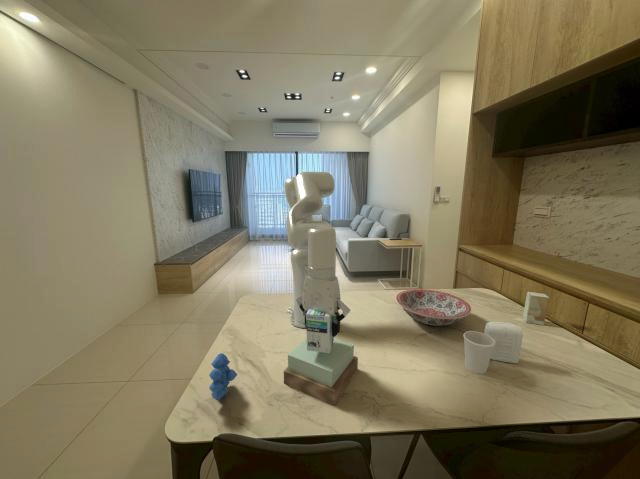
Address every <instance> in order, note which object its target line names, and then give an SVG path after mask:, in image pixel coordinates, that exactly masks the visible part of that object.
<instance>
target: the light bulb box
mask: <svg viewBox="0 0 640 479" xmlns="http://www.w3.org/2000/svg"><path fill="white" fill-rule="evenodd" d="M333 322H334V321H333V319H332V316H331V315H330V314H327V313H323V312H319V311H316V310H312V309H309V310H308V312H307V314H306V329H305V330H306V339H307V350H308V351H316V352H323V353H330V351H331V348H332V344H333V341H334V339H336V338H335V337H336V336H335V337H333V336H332V323H333Z"/></svg>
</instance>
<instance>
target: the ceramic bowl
mask: <svg viewBox="0 0 640 479" xmlns="http://www.w3.org/2000/svg"><path fill="white" fill-rule="evenodd" d="M395 301H396V303H397V304H398V305H399V306H400V307H401V308H402V309H403V311H404V312H405V313H406V314H407V315H408V316H409V317H410V318H412V319H413V320H416V321H417V322H419V323H421V324H425V325H430V326H437V327H439V326H440V327H441V326H443V327H444V326H449V325H452V324H455V323H457V322H458V321H460V320H462V319H463V318H465V317H467V316H469V315H470V314H471V312H472V307H471V305H470V304H469V302H467V301H466V300H465V299H462V298H461V297H458V296H457V295H454V294H451V293H447V292H443V291H439V290H435V289H433V290H432V289H424V288H418V289H417V288H416V289H415V288H414V289H407V290H402V291H401V292H399V293H397V295H396V297H395Z"/></svg>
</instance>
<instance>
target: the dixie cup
mask: <svg viewBox="0 0 640 479" xmlns="http://www.w3.org/2000/svg"><path fill="white" fill-rule="evenodd" d="M462 336H463V342H464V365H465V367H466V369H467V370H469V371H471V372H472V373H475V374H486V373H487V370H488V368H489V363H490V360H491V359H490V357H491V354H492V351H493V347H494V345H495V340H494V339H493V338H492V337H490V336H489V335H487V334H484V332H480V331H477V330H467V331H465V332H464V333H463V335H462Z"/></svg>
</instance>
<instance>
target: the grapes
mask: <svg viewBox="0 0 640 479" xmlns="http://www.w3.org/2000/svg"><path fill="white" fill-rule="evenodd" d="M230 363H231V361H230V360H229V358H228V357H227V356H226V354H225V353H222V352H221V353H218V354H217V356H216V357H215V358H214V359H213V361H212V363H211V366H212V367H213V370H212V371H210V373H209V375H208V376H209V378H210V379H211V380H212V383H211V384H210V385H209V387H208V388H209V390H210V391H211V393H210V394H211V396H212V398H213V399H214V400H215V401H219V400H220V399H222V398H223V397H225V396H226V395H227V393H228V392H229V391H228V389H227V387H228V386H229V384H230V383H231V382H232V381H233V380H235V378H236V377H237V376H238V373H237V372H236V370H234V369H231V368H230V367H229V364H230Z"/></svg>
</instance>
